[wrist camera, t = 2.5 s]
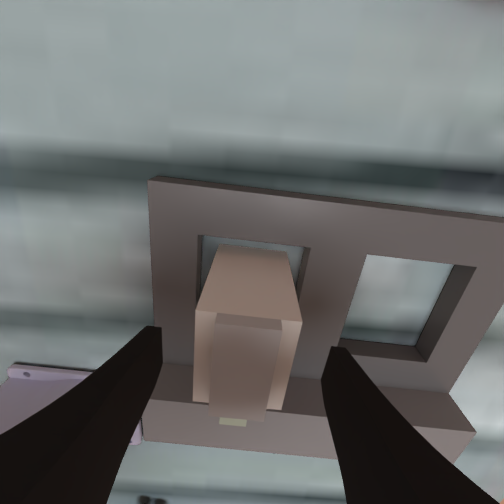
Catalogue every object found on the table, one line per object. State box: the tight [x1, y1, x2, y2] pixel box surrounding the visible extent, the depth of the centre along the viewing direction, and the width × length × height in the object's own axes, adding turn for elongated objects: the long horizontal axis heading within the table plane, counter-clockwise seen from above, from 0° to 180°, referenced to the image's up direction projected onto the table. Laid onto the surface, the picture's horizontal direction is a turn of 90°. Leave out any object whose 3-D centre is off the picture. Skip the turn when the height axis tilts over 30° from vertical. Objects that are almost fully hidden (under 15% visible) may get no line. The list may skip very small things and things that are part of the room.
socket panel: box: [142, 176, 504, 464], centre depth 16 cm, size 20×16×4 cm
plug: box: [193, 244, 303, 422], centre depth 13 cm, size 4×5×7 cm
